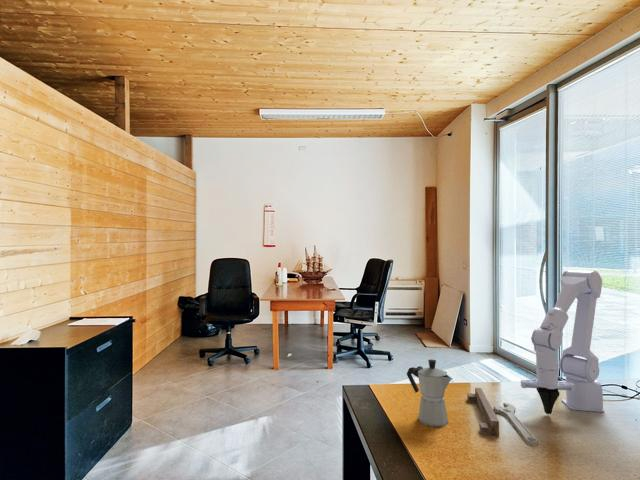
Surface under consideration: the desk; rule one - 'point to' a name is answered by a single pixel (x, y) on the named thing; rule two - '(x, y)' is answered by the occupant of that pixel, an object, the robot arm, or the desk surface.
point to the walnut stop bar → (485, 413)
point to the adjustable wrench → (516, 422)
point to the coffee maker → (431, 393)
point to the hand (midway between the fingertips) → (547, 412)
